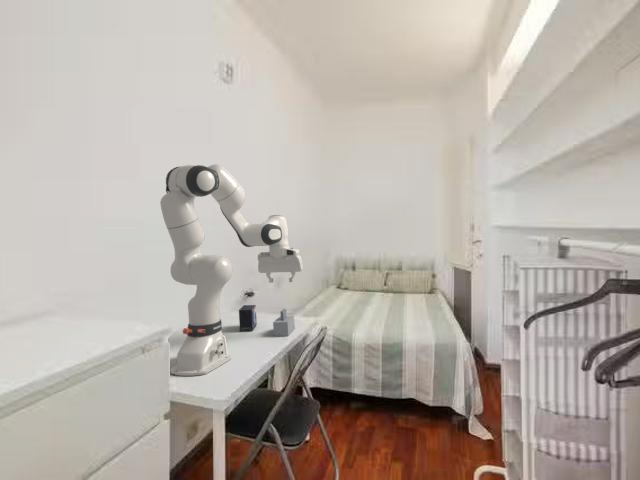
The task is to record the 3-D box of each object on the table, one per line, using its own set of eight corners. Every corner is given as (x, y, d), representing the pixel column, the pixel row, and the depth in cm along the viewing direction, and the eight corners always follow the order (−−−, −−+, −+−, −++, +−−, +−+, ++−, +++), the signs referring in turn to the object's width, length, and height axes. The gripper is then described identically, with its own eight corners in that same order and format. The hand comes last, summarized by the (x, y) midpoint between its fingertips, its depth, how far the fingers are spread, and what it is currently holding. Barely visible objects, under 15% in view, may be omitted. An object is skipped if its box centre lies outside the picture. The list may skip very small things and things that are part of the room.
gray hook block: (288, 336, 160) (286, 313, 160) (273, 336, 162) (272, 313, 161) (294, 329, 171) (293, 307, 170) (281, 329, 172) (279, 307, 172)
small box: (253, 331, 171) (251, 309, 171) (239, 332, 171) (237, 310, 171) (257, 325, 182) (256, 304, 181) (244, 325, 182) (243, 305, 181)
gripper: (254, 253, 163) (256, 283, 164) (299, 251, 159) (301, 282, 160) (259, 251, 169) (261, 281, 170) (302, 250, 165) (304, 280, 166)
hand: (281, 282), depth 165 cm, fingers open, 8 cm apart
